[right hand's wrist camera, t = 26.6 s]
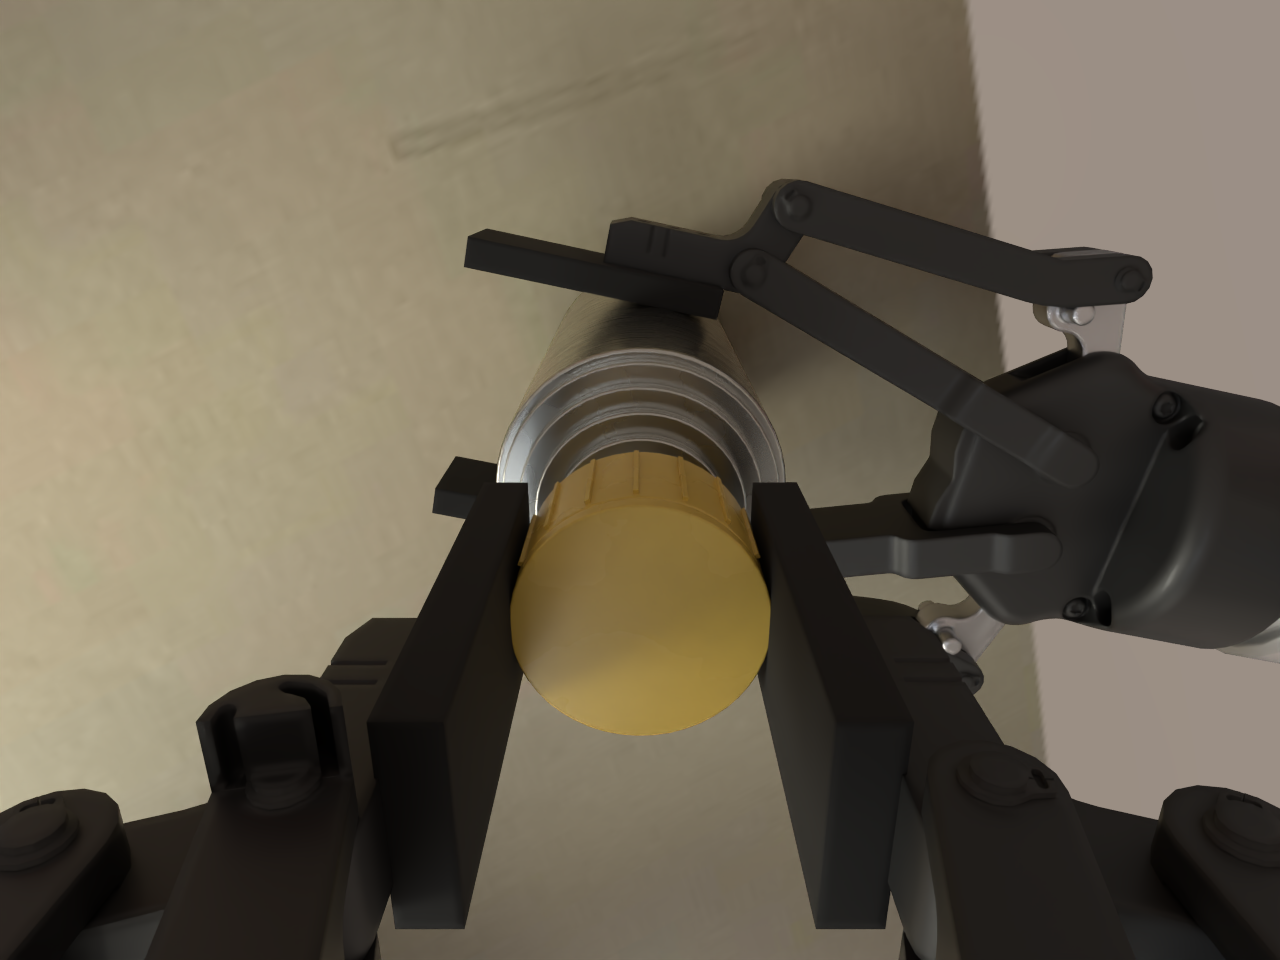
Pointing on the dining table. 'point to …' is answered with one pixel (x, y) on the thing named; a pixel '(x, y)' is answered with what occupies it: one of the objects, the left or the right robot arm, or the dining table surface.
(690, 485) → the cap
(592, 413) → the bottle
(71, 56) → the dining table surface
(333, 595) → the dining table surface
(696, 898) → the dining table surface
